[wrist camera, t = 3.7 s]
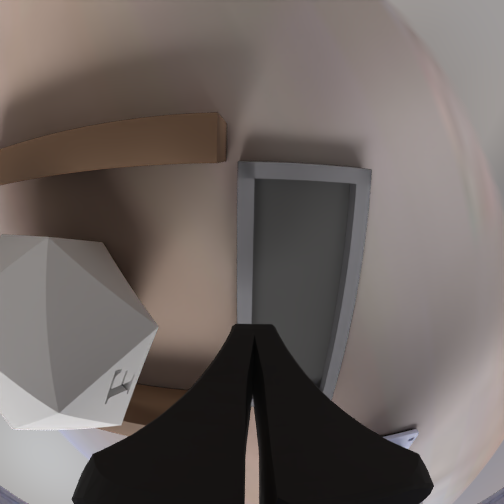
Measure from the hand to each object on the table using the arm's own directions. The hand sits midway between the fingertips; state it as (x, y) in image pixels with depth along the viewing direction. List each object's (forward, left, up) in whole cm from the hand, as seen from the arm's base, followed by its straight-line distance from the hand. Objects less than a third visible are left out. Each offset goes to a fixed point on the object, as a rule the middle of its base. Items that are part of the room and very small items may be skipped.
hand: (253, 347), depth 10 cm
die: (0, +8, -4) cm, 9 cm away
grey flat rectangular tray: (0, -2, -3) cm, 4 cm away
